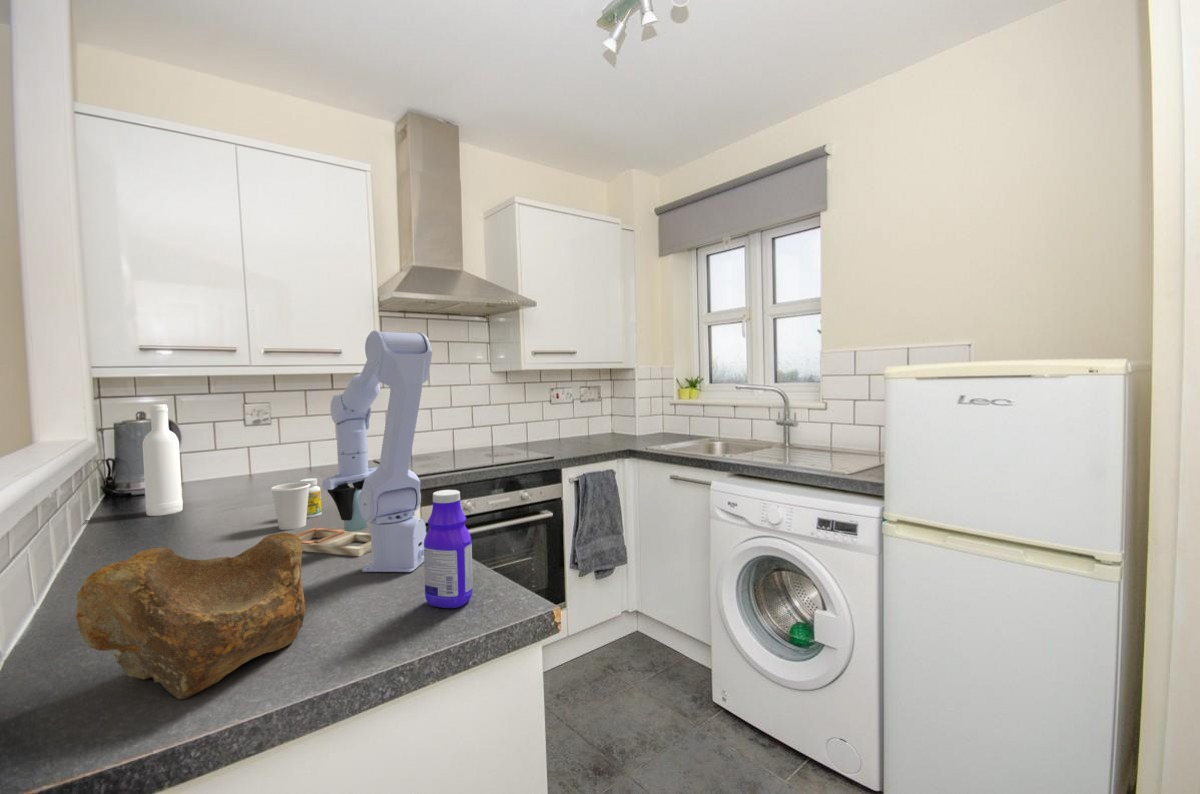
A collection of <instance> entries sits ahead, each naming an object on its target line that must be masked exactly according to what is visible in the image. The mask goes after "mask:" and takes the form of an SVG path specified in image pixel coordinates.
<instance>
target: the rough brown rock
mask: <svg viewBox="0 0 1200 794" xmlns="http://www.w3.org/2000/svg"><path fill="white" fill-rule="evenodd" d="M302 550H303V547H302V542H301V540H300V539H299V538H298V537H297V536H296V535H295V534H293V533H291V532H289V533H288V532H279V533H273V534H269V535H266V536H265V537H263V538H261V540H260V541H258V543H256V544H255V545H253V546H252V547H250V548H247V549H246V550H244V551H243V552H241V553H240V554H238V555H235V556H233V557H229V556H226V557H225V556H224V557H215V558H214V557H213V558H209V559H193V558H186V557H184V556H183V557H182V556H180V555H179V554H178V553H176V552H175V551H174V550H172V549H170V548H168V547H156V548H155V547H154V548H149V549H146V550H141V551H138V552H137V553H136V554H134V555H132V556H130V557H129V558H128V559H127V560H120V561H117V562H113V563H111V564H107V565H104V566H102V567H100V568H99V569H98V570H96V571H95V572H93V573H92V574H90V575H89V576H88V577H87V578H86V579H85V581H84V583H83V585H81V586H82V587H81V589H80V590H79V591H78V593H77V594H76V601H77V606H76V607H77V608H76V609H77V610H76V614H75V619H76V621H77V626H78V628H79V629H78V630H79V633H80V634H81V637H82V639H83V641H84V643H85V644H86V646H87V647H89V648H91V649H95V650H97V651H102V652H110V653H112V654H113V656H114V658H115V661H116V663H117V664H118V665H119V666H120V667H121V669H122V670H123V671H124V673H125V674H126V675H127V677H130V678H131V677H133V678H138V679H141V680H147V679H151V678H152V679H153V681H154V683H156V684H161V685H162V687H163V688H164V689H165V690H166V691H167V692H168V693H169V694H171V695H172V696H174V697H175V698H177V699H178V700H182V699H183V700H185V699H188V698H190V697H192V696H194V695H196V694H198V693H200V692H202V691H204V690H205V689H208V688H209V687H212V686H213V685H215V684H216V683H218V682H220V681H221V680H222V679H223V678H225V677H226V676H227V675H229V674H231V673H232V672H233V671H235V670H236V669H238V668H239V667H241V666H242V665H244V664H245V663H247V662H249V661H250V660H253V659H255V658H257V657H259V656H262V655H264V654H268V653H272V652H275V651H278V650H281V649H284V648H286V647H287V646H288V645H291V644H292V643H294V641H295V640H296V639H297V637H298V634H299V632H300V630H301V628H302V627H303V623H304V619H305V616H306V609H307V607H306V606H307V605H306V599H305V595H304V586H303V585H304V584H303V579H302V558H303V551H302Z"/></svg>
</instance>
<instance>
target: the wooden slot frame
mask: <svg viewBox="0 0 1200 794" xmlns="http://www.w3.org/2000/svg"><path fill="white" fill-rule="evenodd" d="M294 535H296V536H297V537H298V538H299V539H300V540H301V542H302V547H303V550H302V552H309V553H321V554H329V555H340V556H341V555H342V556H350V557H351V556H352V557H362V556H364V555H366V554H368V553H371V532H370V533H369V532H360V531H359V532H358V531H345V530H344V529H339V528H337V529H336V528H327V527H326V528H323V527H313V528H310V529H307V530H304V531H301V532H298V533H295V534H294ZM315 538H318V539H317V540H313V539H315ZM354 542H365V543H363V544H360V545H358V546H355V545H348V544H351V543H354Z"/></svg>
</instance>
